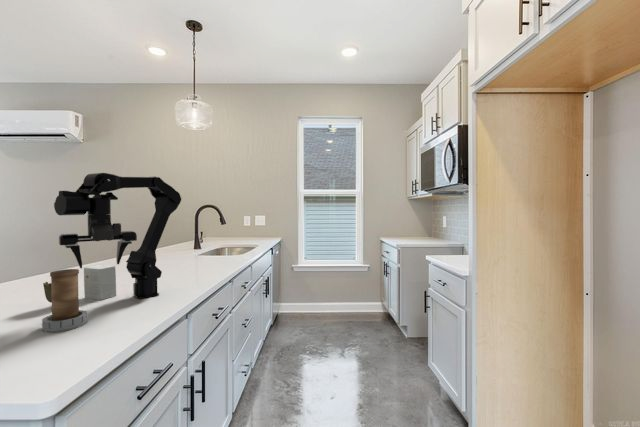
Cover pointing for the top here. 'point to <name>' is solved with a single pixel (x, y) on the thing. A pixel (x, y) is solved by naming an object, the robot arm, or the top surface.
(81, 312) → the ring
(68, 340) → the top surface
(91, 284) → the small box
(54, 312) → the brown cylinder
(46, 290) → the ornate scalloped vase
